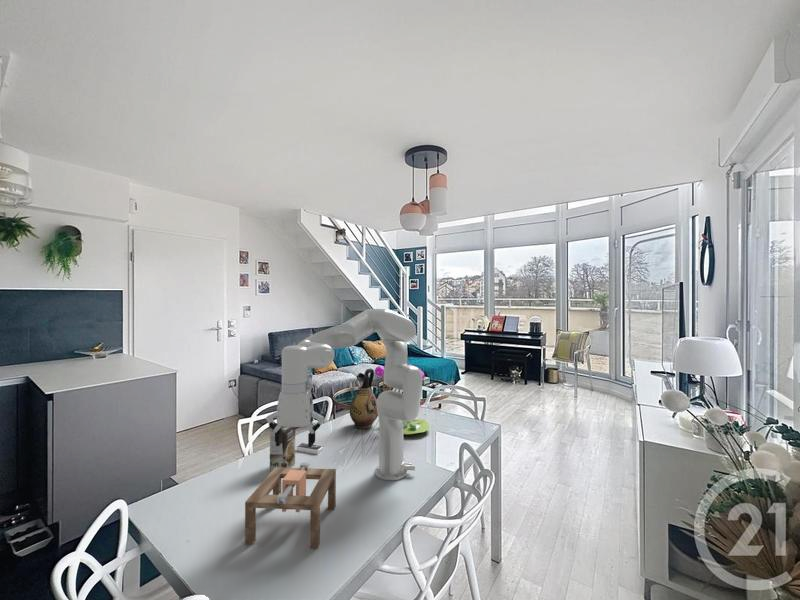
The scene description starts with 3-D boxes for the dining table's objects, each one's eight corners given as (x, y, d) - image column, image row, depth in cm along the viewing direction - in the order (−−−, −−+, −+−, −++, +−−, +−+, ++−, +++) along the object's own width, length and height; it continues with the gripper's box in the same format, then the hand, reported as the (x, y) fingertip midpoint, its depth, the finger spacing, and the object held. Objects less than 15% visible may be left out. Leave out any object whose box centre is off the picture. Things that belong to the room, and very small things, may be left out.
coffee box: (284, 474, 135) (284, 432, 135) (269, 472, 136) (269, 431, 136) (296, 463, 144) (296, 424, 144) (281, 462, 145) (281, 423, 145)
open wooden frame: (335, 506, 115) (335, 469, 115) (317, 549, 95) (317, 504, 95) (275, 503, 116) (275, 467, 116) (245, 546, 96) (245, 502, 96)
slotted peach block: (305, 500, 108) (306, 470, 108) (298, 512, 102) (299, 480, 102) (289, 499, 108) (290, 469, 108) (282, 511, 102) (282, 479, 102)
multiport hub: (317, 455, 153) (317, 450, 153) (296, 451, 156) (296, 446, 156) (323, 451, 157) (323, 446, 157) (302, 447, 160) (302, 442, 160)
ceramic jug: (367, 433, 177) (367, 373, 177) (343, 427, 186) (343, 370, 186) (386, 423, 192) (386, 367, 192) (363, 418, 200) (363, 365, 200)
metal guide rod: (309, 468, 115) (309, 462, 115) (285, 503, 95) (285, 496, 95) (301, 468, 115) (301, 462, 115) (276, 503, 95) (276, 496, 95)
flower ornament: (362, 433, 180) (358, 365, 180) (392, 415, 205) (389, 354, 204) (414, 443, 165) (410, 369, 164) (439, 422, 189) (436, 357, 188)
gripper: (327, 384, 109) (327, 440, 109) (271, 384, 110) (272, 439, 110) (320, 391, 101) (320, 451, 101) (261, 390, 102) (261, 449, 102)
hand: (295, 444), depth 105 cm, fingers open, 9 cm apart
